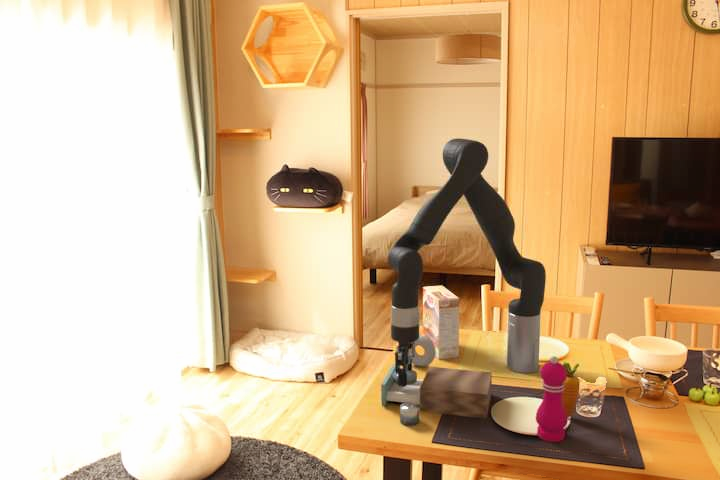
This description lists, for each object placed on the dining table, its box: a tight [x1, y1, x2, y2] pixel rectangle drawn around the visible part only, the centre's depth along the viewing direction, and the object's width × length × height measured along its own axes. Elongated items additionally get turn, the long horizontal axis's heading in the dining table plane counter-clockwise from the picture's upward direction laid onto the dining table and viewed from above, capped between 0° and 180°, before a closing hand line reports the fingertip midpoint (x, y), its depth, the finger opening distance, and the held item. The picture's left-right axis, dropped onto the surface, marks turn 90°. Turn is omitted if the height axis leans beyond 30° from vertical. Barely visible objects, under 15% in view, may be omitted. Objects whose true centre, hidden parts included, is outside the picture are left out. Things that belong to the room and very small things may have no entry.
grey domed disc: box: [393, 369, 418, 385], centre depth 175 cm, size 6×6×2 cm
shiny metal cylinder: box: [399, 402, 420, 427], centre depth 162 cm, size 5×5×4 cm
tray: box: [380, 363, 424, 407], centre depth 174 cm, size 17×14×6 cm
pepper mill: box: [535, 356, 569, 443], centre depth 153 cm, size 7×7×20 cm
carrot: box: [561, 361, 581, 418], centre depth 161 cm, size 5×5×15 cm
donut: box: [411, 333, 436, 367], centre depth 196 cm, size 10×4×10 cm, turn 61°
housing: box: [419, 366, 493, 419], centre depth 172 cm, size 17×14×6 cm
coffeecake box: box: [422, 284, 460, 360], centre depth 207 cm, size 15×7×20 cm, turn 14°
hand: (405, 380), depth 175 cm, fingers closed on grey domed disc, 6 cm apart
